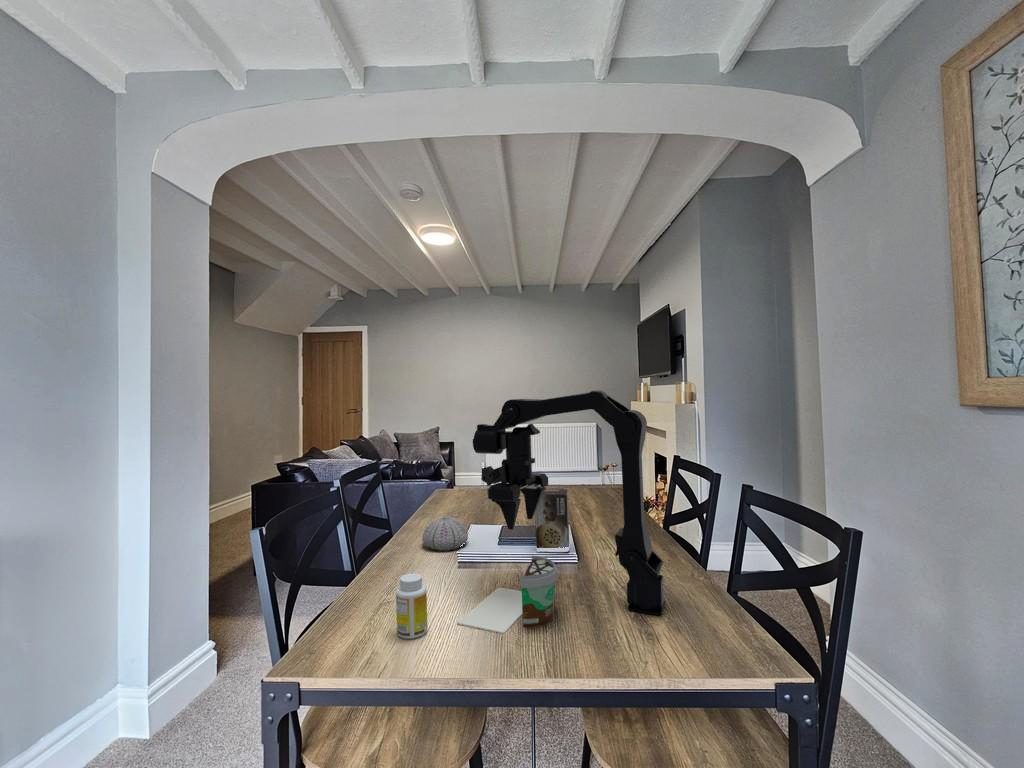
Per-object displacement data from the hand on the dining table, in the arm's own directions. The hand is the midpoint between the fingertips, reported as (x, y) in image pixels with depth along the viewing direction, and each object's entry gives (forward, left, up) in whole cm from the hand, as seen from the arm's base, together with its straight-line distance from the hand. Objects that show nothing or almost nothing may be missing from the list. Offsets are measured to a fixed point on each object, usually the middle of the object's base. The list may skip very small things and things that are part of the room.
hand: (520, 524), depth 111 cm
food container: (-9, +12, -15) cm, 21 cm away
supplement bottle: (+11, +26, -15) cm, 32 cm away
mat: (0, +11, -14) cm, 18 cm away
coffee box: (+3, -28, -15) cm, 31 cm away
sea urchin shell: (+33, -20, -15) cm, 41 cm away
